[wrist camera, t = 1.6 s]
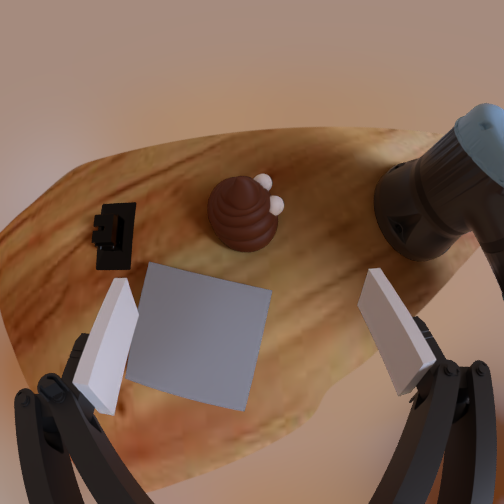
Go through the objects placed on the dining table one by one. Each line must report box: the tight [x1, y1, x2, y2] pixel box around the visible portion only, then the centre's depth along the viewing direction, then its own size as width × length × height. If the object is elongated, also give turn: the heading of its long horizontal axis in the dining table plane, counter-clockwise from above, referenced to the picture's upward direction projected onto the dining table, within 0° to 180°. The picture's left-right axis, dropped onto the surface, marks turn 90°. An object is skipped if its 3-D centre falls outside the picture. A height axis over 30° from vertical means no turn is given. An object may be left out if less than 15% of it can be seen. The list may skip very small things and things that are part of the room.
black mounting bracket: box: [92, 202, 136, 270], centre depth 33 cm, size 12×7×5 cm, turn 1°
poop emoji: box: [208, 174, 284, 252], centre depth 31 cm, size 10×9×9 cm
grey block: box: [125, 262, 272, 411], centre depth 30 cm, size 14×14×4 cm
